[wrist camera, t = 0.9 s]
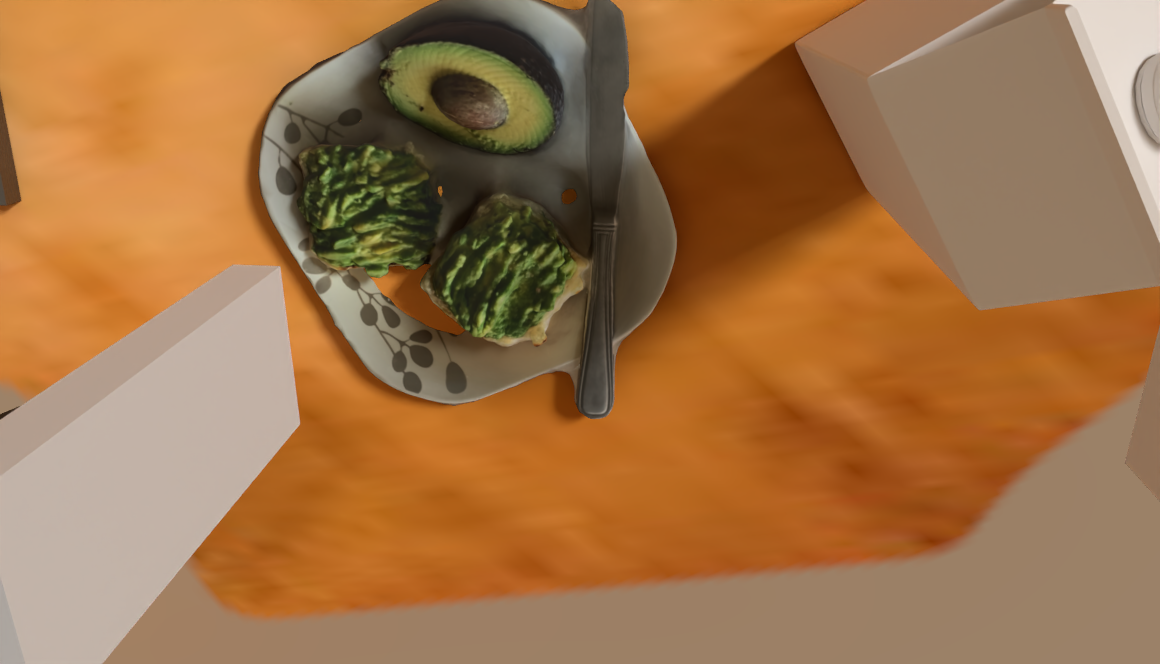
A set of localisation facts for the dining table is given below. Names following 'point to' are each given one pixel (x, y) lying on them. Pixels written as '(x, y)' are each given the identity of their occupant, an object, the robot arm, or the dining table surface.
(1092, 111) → the milk carton
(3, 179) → the ring collar
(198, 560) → the dining table surface
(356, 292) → the salad plate
